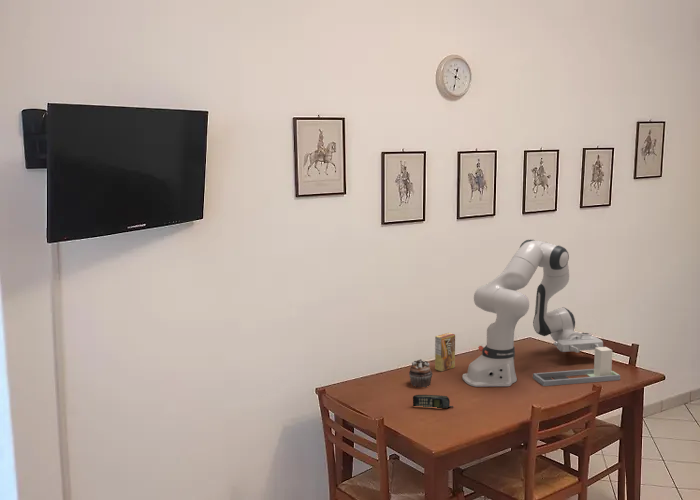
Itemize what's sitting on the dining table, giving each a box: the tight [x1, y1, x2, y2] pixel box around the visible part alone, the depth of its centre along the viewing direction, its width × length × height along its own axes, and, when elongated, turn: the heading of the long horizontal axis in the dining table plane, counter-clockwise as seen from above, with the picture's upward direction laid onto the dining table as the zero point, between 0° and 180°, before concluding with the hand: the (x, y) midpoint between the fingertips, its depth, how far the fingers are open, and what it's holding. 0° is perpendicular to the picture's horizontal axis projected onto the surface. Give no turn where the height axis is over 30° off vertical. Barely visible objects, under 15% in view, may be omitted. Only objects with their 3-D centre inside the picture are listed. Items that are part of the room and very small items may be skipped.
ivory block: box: [593, 346, 613, 376], centre depth 279 cm, size 5×5×12 cm
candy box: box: [434, 332, 456, 372], centre depth 293 cm, size 9×4×15 cm, turn 129°
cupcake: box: [408, 359, 433, 388], centre depth 274 cm, size 10×10×10 cm
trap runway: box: [532, 368, 621, 387], centre depth 278 cm, size 34×10×2 cm, turn 100°
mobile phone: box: [412, 394, 454, 409], centre depth 250 cm, size 5×3×15 cm
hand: (588, 349), depth 291 cm, fingers open, 8 cm apart
